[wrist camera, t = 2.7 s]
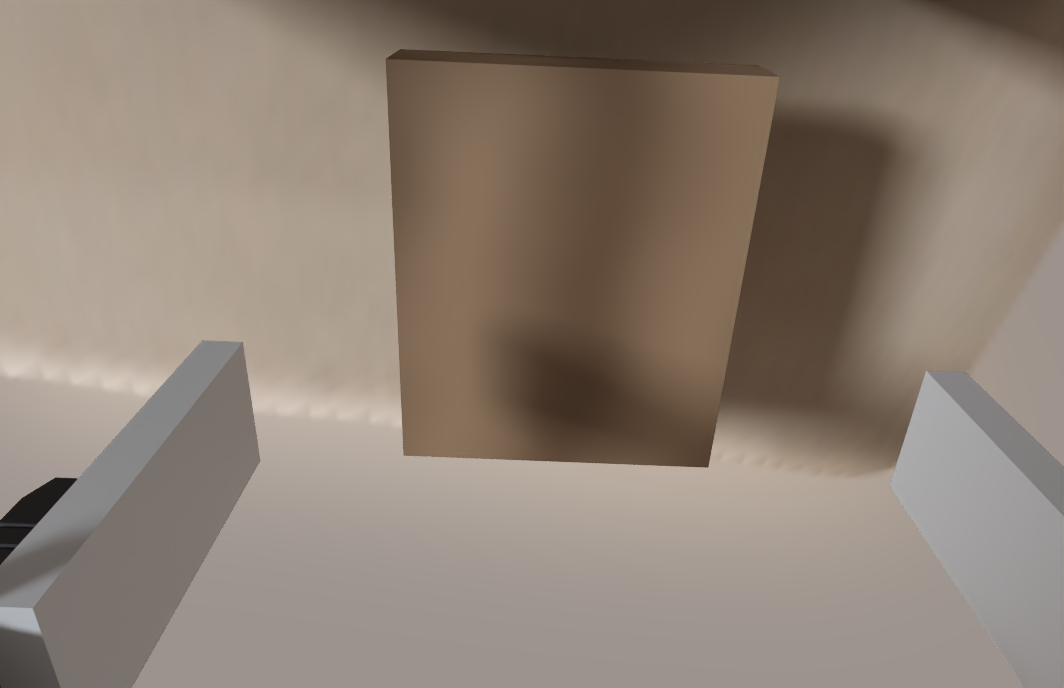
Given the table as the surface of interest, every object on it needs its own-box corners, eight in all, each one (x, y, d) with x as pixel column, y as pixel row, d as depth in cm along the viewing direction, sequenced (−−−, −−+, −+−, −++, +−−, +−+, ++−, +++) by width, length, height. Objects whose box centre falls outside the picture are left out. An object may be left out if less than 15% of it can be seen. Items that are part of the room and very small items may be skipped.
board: (413, 418, 24) (403, 455, 22) (400, 49, 19) (385, 58, 17) (695, 429, 24) (708, 467, 22) (757, 65, 19) (780, 76, 17)
